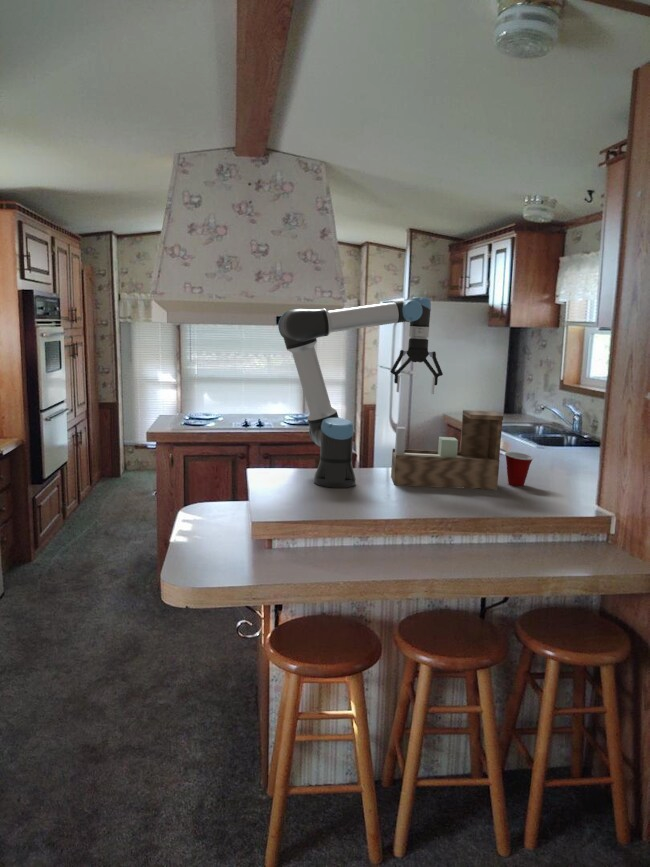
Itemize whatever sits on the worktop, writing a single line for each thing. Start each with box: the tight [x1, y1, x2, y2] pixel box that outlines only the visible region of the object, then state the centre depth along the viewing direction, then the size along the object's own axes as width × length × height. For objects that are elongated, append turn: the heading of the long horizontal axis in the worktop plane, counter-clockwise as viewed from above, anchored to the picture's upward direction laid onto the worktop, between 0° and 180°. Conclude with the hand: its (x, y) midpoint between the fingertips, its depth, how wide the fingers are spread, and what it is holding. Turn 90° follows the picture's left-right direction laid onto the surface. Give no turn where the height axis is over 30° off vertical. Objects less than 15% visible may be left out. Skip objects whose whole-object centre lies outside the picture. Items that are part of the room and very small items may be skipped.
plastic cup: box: [504, 451, 535, 487], centre depth 253 cm, size 11×11×12 cm
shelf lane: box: [390, 409, 504, 490], centre depth 249 cm, size 38×14×28 cm, turn 89°
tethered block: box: [394, 426, 459, 458], centre depth 249 cm, size 22×7×10 cm, turn 89°
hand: (415, 392), depth 259 cm, fingers open, 13 cm apart
